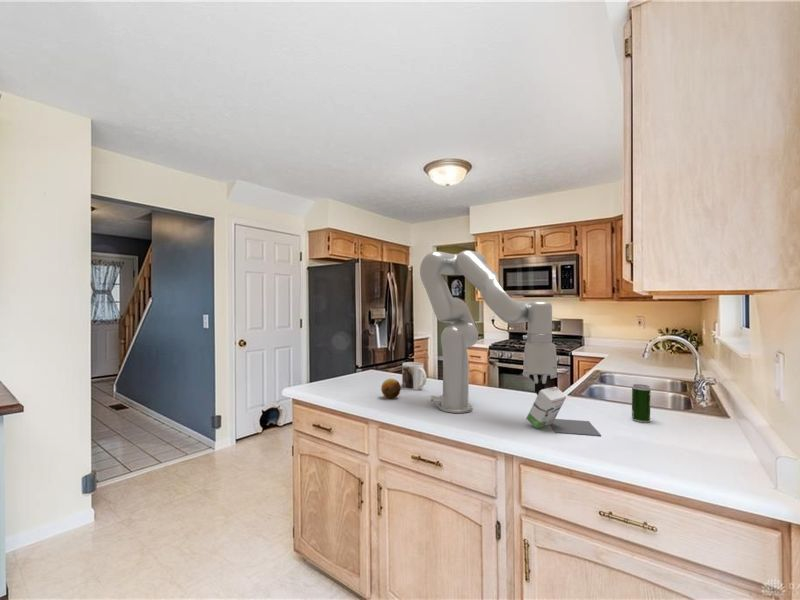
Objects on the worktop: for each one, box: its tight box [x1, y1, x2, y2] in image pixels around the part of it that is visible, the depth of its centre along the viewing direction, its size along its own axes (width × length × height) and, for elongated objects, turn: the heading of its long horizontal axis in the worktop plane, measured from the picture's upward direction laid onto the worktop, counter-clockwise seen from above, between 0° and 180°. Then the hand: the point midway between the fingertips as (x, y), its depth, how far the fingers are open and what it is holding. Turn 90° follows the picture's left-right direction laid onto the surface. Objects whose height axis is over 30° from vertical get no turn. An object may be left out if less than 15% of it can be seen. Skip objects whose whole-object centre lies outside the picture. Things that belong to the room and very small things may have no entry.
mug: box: [401, 361, 427, 391], centre depth 177 cm, size 10×12×11 cm
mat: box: [550, 418, 602, 437], centre depth 125 cm, size 13×14×1 cm
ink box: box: [526, 386, 568, 429], centre depth 124 cm, size 9×5×12 cm, turn 124°
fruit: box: [380, 378, 402, 400], centre depth 159 cm, size 8×8×8 cm
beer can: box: [631, 383, 652, 424], centre depth 132 cm, size 5×5×12 cm
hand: (539, 394), depth 127 cm, fingers closed
